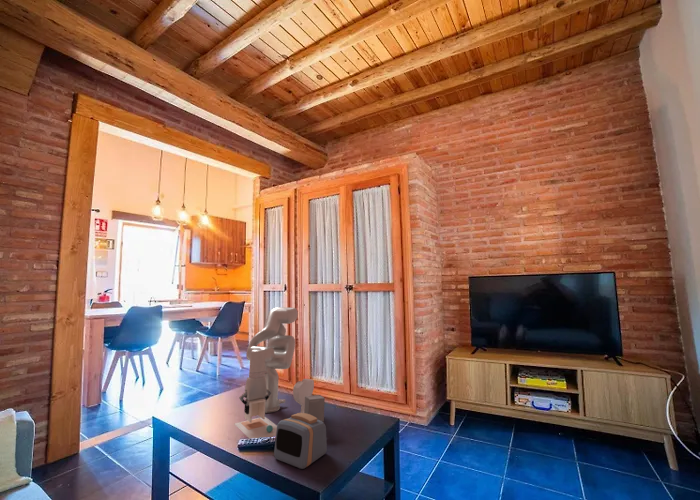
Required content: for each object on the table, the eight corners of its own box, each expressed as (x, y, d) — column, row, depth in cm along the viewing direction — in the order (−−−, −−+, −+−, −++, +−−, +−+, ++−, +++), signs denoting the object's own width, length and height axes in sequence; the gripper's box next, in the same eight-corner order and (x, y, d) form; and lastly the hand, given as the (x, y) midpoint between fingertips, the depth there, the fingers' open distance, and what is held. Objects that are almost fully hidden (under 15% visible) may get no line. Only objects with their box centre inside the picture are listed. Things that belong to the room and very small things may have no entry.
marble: (271, 430, 155) (271, 423, 155) (273, 432, 152) (274, 425, 153) (265, 431, 153) (265, 425, 153) (267, 434, 150) (268, 427, 151)
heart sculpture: (306, 409, 183) (307, 376, 185) (314, 411, 181) (315, 377, 183) (290, 419, 169) (292, 383, 171) (298, 421, 167) (300, 384, 169)
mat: (264, 417, 171) (264, 416, 171) (288, 435, 151) (288, 433, 151) (233, 424, 161) (233, 423, 161) (254, 445, 141) (255, 443, 141)
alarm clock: (271, 459, 130) (273, 417, 131) (298, 443, 143) (299, 405, 145) (303, 472, 121) (305, 427, 123) (328, 454, 135) (329, 413, 137)
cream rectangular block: (258, 414, 167) (259, 396, 168) (264, 419, 161) (265, 400, 162) (244, 417, 162) (245, 398, 163) (250, 422, 156) (251, 402, 157)
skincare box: (307, 435, 151) (309, 400, 153) (302, 429, 157) (303, 395, 159) (324, 432, 155) (325, 397, 157) (318, 426, 161) (320, 393, 163)
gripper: (269, 370, 172) (267, 406, 170) (237, 375, 162) (234, 413, 159) (276, 373, 167) (274, 410, 164) (242, 378, 156) (240, 417, 154)
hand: (254, 411), depth 162 cm, fingers closed on cream rectangular block, 7 cm apart
